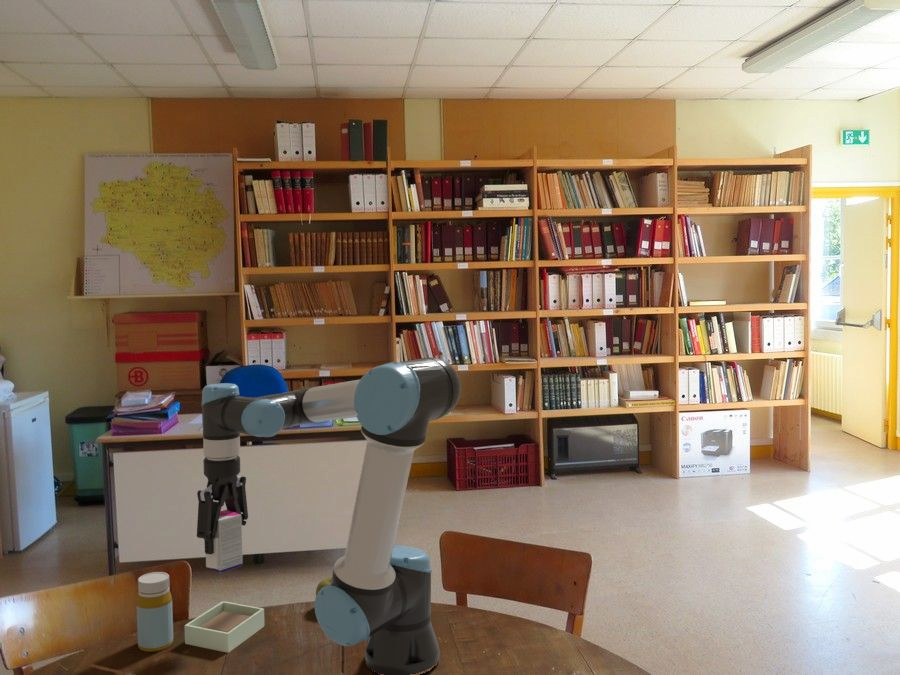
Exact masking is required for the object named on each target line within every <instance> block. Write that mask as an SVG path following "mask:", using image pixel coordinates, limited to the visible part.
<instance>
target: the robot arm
mask: <svg viewBox="0 0 900 675" xmlns="http://www.w3.org/2000/svg"><path fill="white" fill-rule="evenodd" d="M201 393H202V394H201V405H200V406H201V415H202V420H201V421H202V438H203V445H202V446H203V456H204V459H203V475H204V477H206V479H207V483H206V488H205V489H203V490H198V491H197V493H196V494H197V500H198V506H197V507H198V508H197V522H196V523H197V524H196V526H197V527H196V537H197V538H198V539H203V541H204V554H205V568H208V569H210V568H214V569H218V568H219V546H218V538H217V537H215V536H216V531H217V526H218V520H219V516H220V511H222V507H223V506H224V505H225V507H226V510H230V511H232V512H235V513H238V514H241V519H242V526H246V525H247V520H248V518H249V511H248V501H247V492H246V484H247V483H246V482H247V477H246V476H241V475H239V474H240V473H241V457H240V456H239V455H240V454H241V436H240V434H244V435H249V436H252V437H257V438H271V437H275V436H276V435H277V434H278V433H279V432H280V431H282V429H287V428H291V427H296V426H300V425H301V426H302V425H308V424H314V423H315V424H316V423H320V422H321V423H322V422H328V421H329V422H330V421H337V420H344V419H352V418H357V421H358V423H359V424H360V425H361V427H360V432H361V434H362V436H363V437H364V439H365V440H366V441H367V442H366V444H365V445H366V446H365V451H364V455H363V462H362V465H361V466H362V467H361V473H360V476H359V481H358V486H357V491H356V497H355V503H354V506H353V511H352V512H353V513H352V515H351V516H352V517H351V523H350V526H349V532H348V536H347V542H346V548H345V552H344V555H343V556H341V557H339V558H338V559H337V560H336V561H335V563H334V566H333V569H332V570H333V571H332V576H331V577H332V580H331V583H330V585H327V586H325V587H323V588H322V589H321V590H320V591H319V592H318V594H317V596H316V595H315V597H314V598H315V599H314V613H315V617H316V621H317V622H318V624H319V626H320V628H321V630H322V631H323V633H324V634H325V635H326V636H327V638H329V639H330V640H331V641H333V642H334V643H336V644H338V645H340V646H342V647H352V646H353V647H354V646H355V645H357V644H360V643H361V642H365V641H367V640H368V641H367V644H366V647H365V652H364V656H365V659H364V660H365V661H366V662H365V661H364V662H365V665H366V664H367V665H366V667H367V666H368V667H369V668H370V669H371V670H373V671H375V672H376V673H379V674H384V675H410V674H416V673H419V672H422V671H425V670H427V669H429V668H431V667H432V666H433V665H435V664H436V663H437V661H438V659H439V660H440V646H439V643H438V639H437V636H436V634H435V631H434V628H433V625H432V622H431V621H432V617H431V616H432V615H431V614H432V606H431V605H432V602H431V601H432V567H431V565H432V564H431V558H430V555H429V554H428V553H427V552H426V551H425V550H424V549H421V548H417V547H413V546H408V545H395V543H396V542H395V541H396V538H397V532H398V529H399V524H400V518H401V514H402V509H403V505H404V502H405V496H406V490H407V485H408V483H409V482H408V481H409V478H410V472H411V466H412V462H413V457H414V454H415V450H417V449H418V448H420V447H422V446H423V445H424V444H425V441H426V436H427V432H428V428H429V424H430V422H433V421H436V420H438V419H441V418H443V417H446V416H447V415H449V414H450V413H451V412H452V411H453V410H454V409H455V407H456V406H457V405H458V402H459V400H460V398H461V394H462V383H461V379H460V376H459V374H458V373H457V371H456V368H454V367H453V366H452V365H451V364H450V363H449V362H447V361H446V360H444V359H442V358H438V357H423V358H422V357H421V358H416V359H411V360H404V361H390V362H387V363H384V364H381V365H377V366H376V367H373V368H370V369H369V370H368V371H367V372H365V373H364V375H363V376H361V378H360V379H356V380H355V379H354V380H349V381H344V382H338V383H332V384H326V385H320V386H313V387H305V388H304V387H303V388H299V389H296V390H291V391H286V392H282V393H280V392H279V393H276V394H275V393H274V394H267V395H264V396H263V395H262V396H257V397H256V396H255V397H250V396H249V397H247V396H240V390H239V386H238V385H237V384H236V383H229V382H224V383H222V382H221V383H211V384H207V385H205V386H204V387H203V389H202V391H201ZM210 532H211V533H210ZM368 667H367V668H368ZM369 668H368V669H369ZM370 669H369V670H370ZM371 670H370V671H371ZM373 671H372V672H373ZM376 673H375V674H376ZM379 674H378V675H379Z"/></svg>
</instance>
